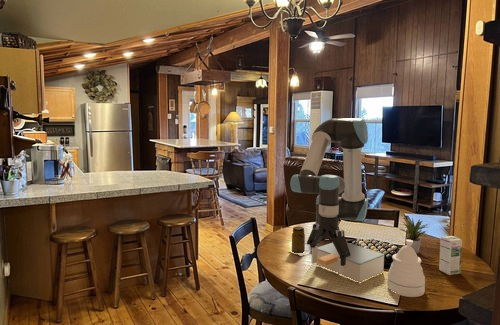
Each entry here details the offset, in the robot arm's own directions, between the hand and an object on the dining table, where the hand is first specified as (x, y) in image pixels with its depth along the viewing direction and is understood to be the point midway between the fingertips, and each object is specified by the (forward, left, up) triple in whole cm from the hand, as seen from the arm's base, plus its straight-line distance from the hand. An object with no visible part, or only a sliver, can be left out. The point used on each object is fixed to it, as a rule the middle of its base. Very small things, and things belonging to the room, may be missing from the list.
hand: (327, 267), depth 146 cm
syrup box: (+27, +45, -5) cm, 53 cm away
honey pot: (+24, +16, -5) cm, 29 cm away
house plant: (+6, +55, -5) cm, 56 cm away
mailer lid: (0, +9, +2) cm, 10 cm away
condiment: (-27, +12, -5) cm, 30 cm away
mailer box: (0, +14, -4) cm, 15 cm away
